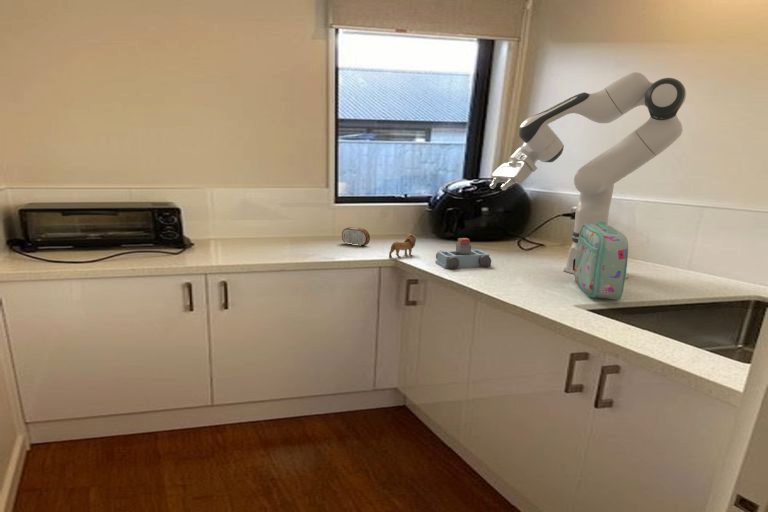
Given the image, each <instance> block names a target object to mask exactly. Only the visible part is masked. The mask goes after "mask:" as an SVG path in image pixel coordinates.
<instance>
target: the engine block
mask: <svg viewBox="0 0 768 512" xmlns="http://www.w3.org/2000/svg"><path fill="white" fill-rule="evenodd" d="M470 241H471V240H470V238H467V237H459V238H457V242H456V243H455V251H456V256H457V255H471V249H472V244H470V243H471V242H470Z"/></svg>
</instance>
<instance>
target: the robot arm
mask: <svg viewBox="0 0 768 512" xmlns="http://www.w3.org/2000/svg"><path fill="white" fill-rule="evenodd" d="M686 98H687V91H686V87H685V85H684V84H683V83H682V81H680V80H678V79H676V78H672V77H664V78H660V79H658V80H656V81H654V82H651V81H650V80H649V79H648V77H646V76H645V75H644V74H642V73H640V72H637V71H634V72H630V73H628V74H627V75H625V76H622V77H620V78H619V79H617V80H616V81H614V82H612V83H610V84H608V85H607V86H606V87H604V88H603V89H601V90H599V91H597V92H592V93H588V92H580V93H577V94H575V95H573V96H571V97H569V98H567V99H565V100H563V101H561V102H559V103H557V104H555V105H553V106H552V107H549V108H547V109H546V110H544V111H542V112H539V113H537V114H534V115H531V116H529V117H528V118H526V119H524V121H522V122H521V123H520V125H519V127H518V128H519V130H518V137H519V138H520V139H521V141H523V144H522V145H521V146H519V147H518V148H517V149H516V150H515V151H514V153H512V155H510V156H509V158H508V162H503V163H502V164H501V165H499V166H497V168H496V169H495V170H494V171H493V172H492V173H491V177H492V180H491V183H490V184H489V185H488V186H489V188H490V189H492V190H493V189H495V188H496V187H497V184H499V183H500V182H501V183H502V185H501V186H500V189H501V190H502V191H506V190H508V188H510V187H512V185H514V184H522V183H524V182H525V180H527V179H528V178H529V176H531V175H532V173H534V172H536V170H537V169H538V167H537V165H536V163H537V162H538V161H540V162H541V163H542V162H543V163H553V162H555V161H557V160H558V159H559V158H560V156H561V155H562V154H563V151H564V143H563V141H562V140H561V139H560V137H558V135H557V134H556V133H555V131H554V130H552V127H550V126H549V124H551V123H553V122H555V121H557V120H559V119H562V118H564V117H565V116H567V115H570V114H576V115H580V116H583V117H585V118H587V119H588V120H591V121H592V122H594V123H598V124H609V123H611V122H614V121H617V119H619V118H621V117H623V116H624V115H625V114H627V113H629V112H630V111H631V110H633V109H635V108H637V107H640V106H644V107H646V108H647V111H648V112H649V116H650V117H649V119H647V121H646V122H644V123H643V124H642V125H640V126H639V127H638V128H636V129H635V130H633V131H632V132H630V133H629V134H628V135H627V136H625V137H624V138H622V139H621V140H620V141H619V142H617V143H616V144H614V145H612V146H611V147H610V148H608V149H606V150H605V151H604V152H601V153H600V154H599V155H597V156H595V157H594V158H593V159H591V160H590V161H589V162H587V163H585V164H584V165H583V166H581V167H580V168H579V169H578V170H577V171H576V173H575V174H574V179H573V184H574V186H575V188H576V190H577V191H578V192H580V193H579V197H578V202H577V206H576V209H575V214H574V215H575V217H574V227H573V231H572V234H571V241H572V244H571V246H570V248H569V250H568V254H567V255H568V256H567V261H566V266H565V267H564V268H563V272H566V273H569V274H573V275H574V271H573V260H574V259H575V258H576V251H577V244H578V238H579V234H580V230H581V228H582V226H583V225H584V224H597V221H599V222H606V226H609V225H608V222H609V215H610V207H611V204H612V198H613V194H614V193H613V192H614V188H615V187H614V186H615V184H616V183H617V182H619V181H621V180H622V179H624V178H625V177H627V176H628V175H630V174H632V173H634V172H635V171H636V170H638V169H639V168H641V167H642V166H644V165H645V164H647V163H648V162H650V161H652V160H653V159H654V158H655V157H657V156H658V155H660V154H661V153H663V152H664V151H665V150H667V148H669V147H670V146H671V145H672V144H674V142H676V140H678V139H679V138H680V137H681V136H682V133H683V125H682V123H681V120H680V119H679V118H678V115H677V114H678V111H679V110H680V109H681V108H682V106H683V105H684V103H685V101H686ZM628 278H629V274H627V273H626V277H625V280H626V279H628Z"/></svg>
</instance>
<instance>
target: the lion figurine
mask: <svg viewBox="0 0 768 512" xmlns="http://www.w3.org/2000/svg"><path fill="white" fill-rule="evenodd" d="M416 241H417V240H416V236H415V234H413V233H410V234H408V235H407V236H406V238H405V240H404V241H394V242H393V243H392V244H391V247H390V251H389V255H388V258H389V259H390V258H393V255H392V254H393V253H394V252H396V254H395V255H396V257H397V258H398V259H402V256H400V255H399V253H400V250H401V251H404V256H409V257H413V255H412V249H413V248H414V247H416V243H417V242H416Z"/></svg>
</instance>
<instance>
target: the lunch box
mask: <svg viewBox="0 0 768 512" xmlns="http://www.w3.org/2000/svg"><path fill="white" fill-rule="evenodd" d="M628 241H629V240H628V239H627V236H626V235H625V234H623V233H622V232H621V231H619V230H618V229H616V228H614V227H613V226H610V225H607V226H606V222H599V221H597V224H584V225H583V226H582V228H581V230H580V234H579V238H578V244H577V251H576V258H575V259H574V260H573V271H574V274H573V275H574V282H575V284H576V285H577V286H578V287H579V288H580V290H581V291H583V292H584V293H585V294H586V295H587V296H588V297H590V298H591V299H592V298H594V299H595V298H597V299H611V300H618V301H619V300H620V299H621V298H622V296H623V293H624V287H625V282H626V279H625V277H626V274H627V269H628V258H629V242H628Z"/></svg>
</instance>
